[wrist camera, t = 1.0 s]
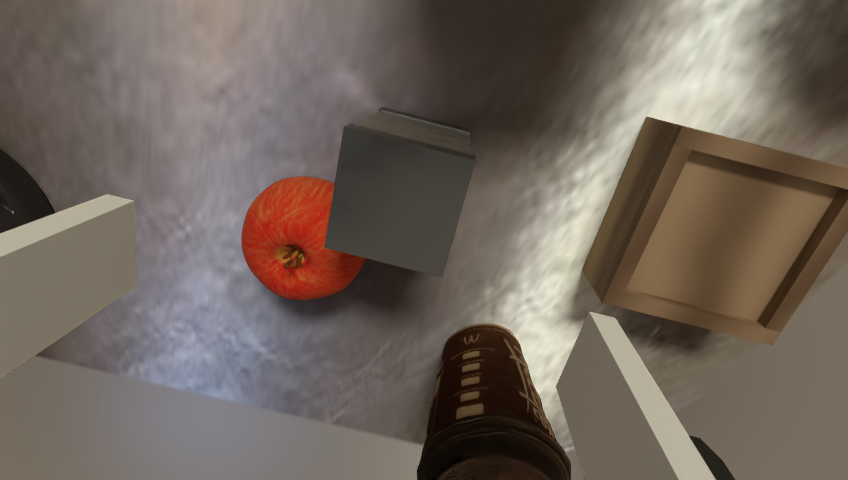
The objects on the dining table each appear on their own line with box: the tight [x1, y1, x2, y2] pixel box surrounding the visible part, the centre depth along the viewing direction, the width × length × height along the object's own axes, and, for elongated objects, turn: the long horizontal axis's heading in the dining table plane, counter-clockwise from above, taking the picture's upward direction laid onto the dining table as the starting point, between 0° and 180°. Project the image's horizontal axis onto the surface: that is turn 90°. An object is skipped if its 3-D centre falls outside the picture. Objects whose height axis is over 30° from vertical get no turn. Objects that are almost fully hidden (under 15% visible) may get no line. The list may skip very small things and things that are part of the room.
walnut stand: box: [582, 117, 848, 345], centre depth 27 cm, size 11×11×5 cm
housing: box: [324, 107, 476, 277], centre depth 25 cm, size 6×6×10 cm
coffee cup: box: [417, 324, 571, 480], centre depth 29 cm, size 9×8×13 cm
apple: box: [242, 177, 366, 300], centre depth 28 cm, size 8×8×8 cm
